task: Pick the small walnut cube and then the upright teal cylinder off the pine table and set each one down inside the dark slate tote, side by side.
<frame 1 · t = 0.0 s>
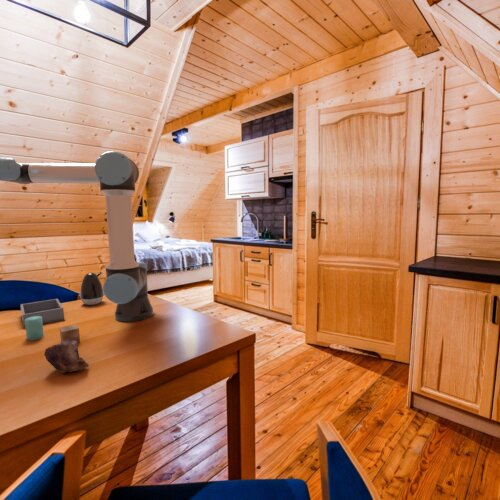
rock: (67, 370, 88), on the table
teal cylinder: (35, 337, 111), on the table
tote: (42, 317, 131), on the table
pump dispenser: (92, 303, 151), on the table
walnut cube: (70, 342, 107), on the table
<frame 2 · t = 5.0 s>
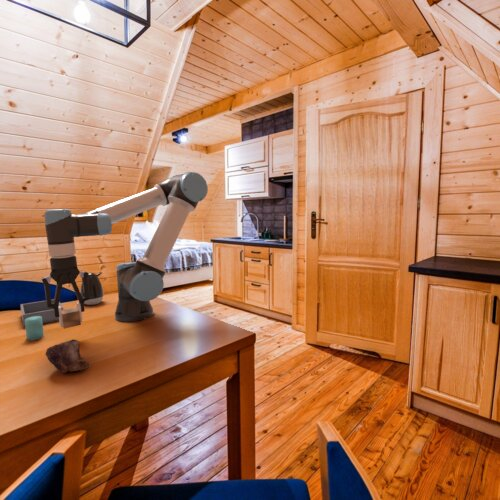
hand: (71, 323, 107), 6 cm above the table, fingers closed on walnut cube, 5 cm apart
walnut cube: (71, 324, 107), point 6 cm above the table, touching gripper
everything else where it was.
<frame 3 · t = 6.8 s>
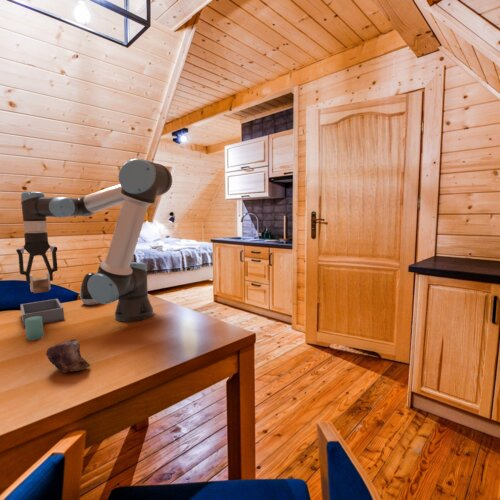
hand: (40, 289, 125), 13 cm above the table, fingers closed on walnut cube, 5 cm apart
walnut cube: (40, 290, 125), point 13 cm above the table, touching gripper
everything else where it was.
when the fingers open (5 cm above the table, at t = 8.8 s): walnut cube drops 4 cm, resting on tote.
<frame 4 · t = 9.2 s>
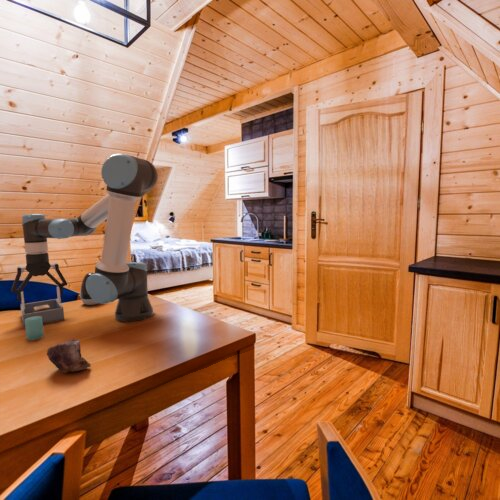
hand: (42, 305, 127), 6 cm above the table, fingers open, 11 cm apart
walnut cube: (42, 318, 128), point 1 cm above the table, touching tote
everything else where it was.
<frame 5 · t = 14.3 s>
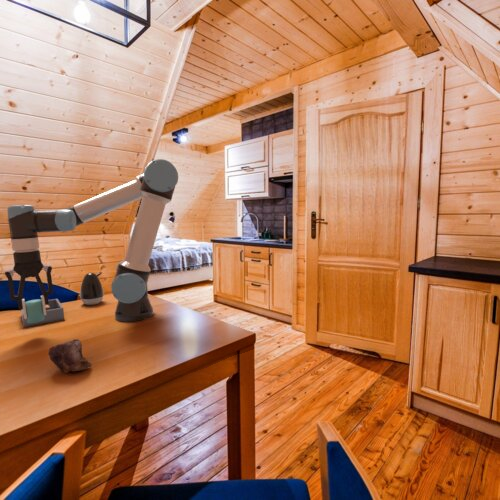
hand: (35, 315, 110), 8 cm above the table, fingers closed on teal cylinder, 5 cm apart
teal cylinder: (35, 320, 110), point 6 cm above the table, touching gripper
everything else where it was.
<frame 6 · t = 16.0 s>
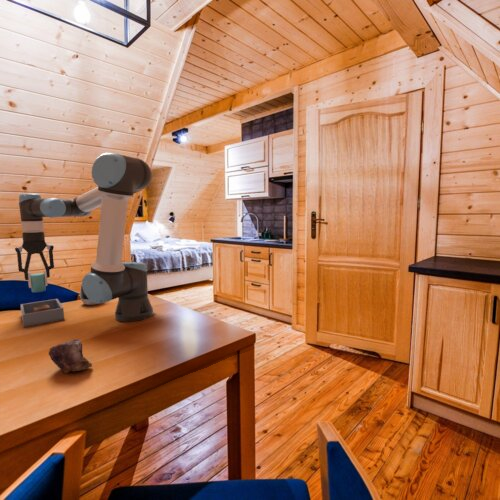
hand: (38, 286, 132), 13 cm above the table, fingers closed on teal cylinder, 5 cm apart
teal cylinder: (38, 290, 133), point 11 cm above the table, touching gripper
when the fingers open (5 cm above the table, at t = 17.8 s): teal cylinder drops 2 cm, resting on tote.
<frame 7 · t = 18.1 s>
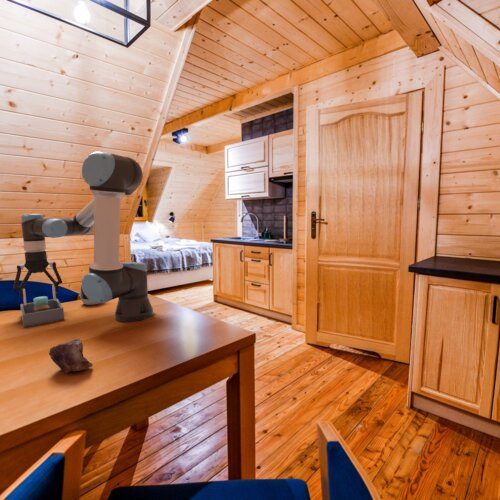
hand: (40, 302, 134), 6 cm above the table, fingers open, 10 cm apart
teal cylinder: (42, 313, 135), point 1 cm above the table, touching tote
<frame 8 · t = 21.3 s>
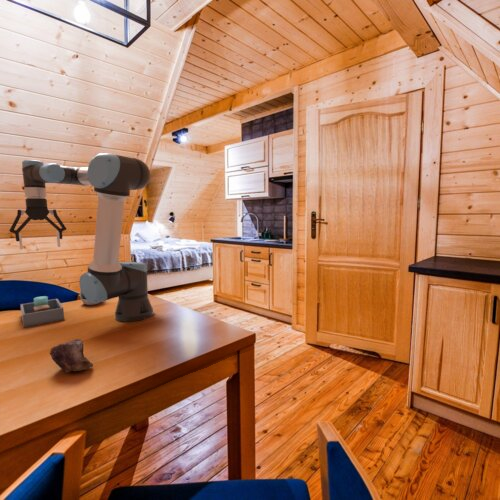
hand: (40, 247, 135), 29 cm above the table, fingers open, 13 cm apart
at the end: walnut cube inside the target area on the tote (3.9 cm from its centre), point 0.6 cm above the tote's base; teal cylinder inside the target area on the tote (4.2 cm from its centre), point 0.7 cm above the tote's base; the gripper is holding nothing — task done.
